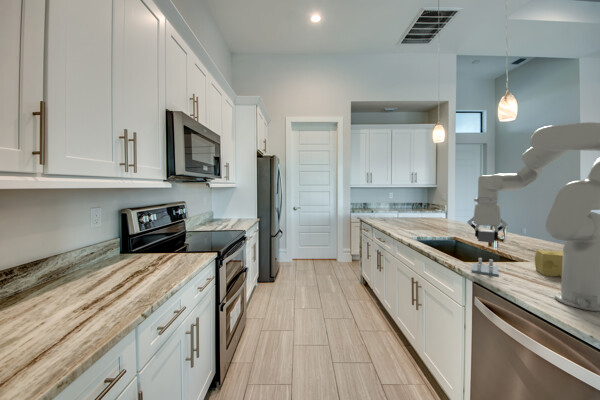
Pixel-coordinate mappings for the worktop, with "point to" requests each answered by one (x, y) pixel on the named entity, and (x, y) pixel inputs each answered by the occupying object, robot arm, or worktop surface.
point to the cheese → (549, 262)
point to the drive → (486, 235)
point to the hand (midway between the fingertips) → (486, 238)
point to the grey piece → (485, 268)
